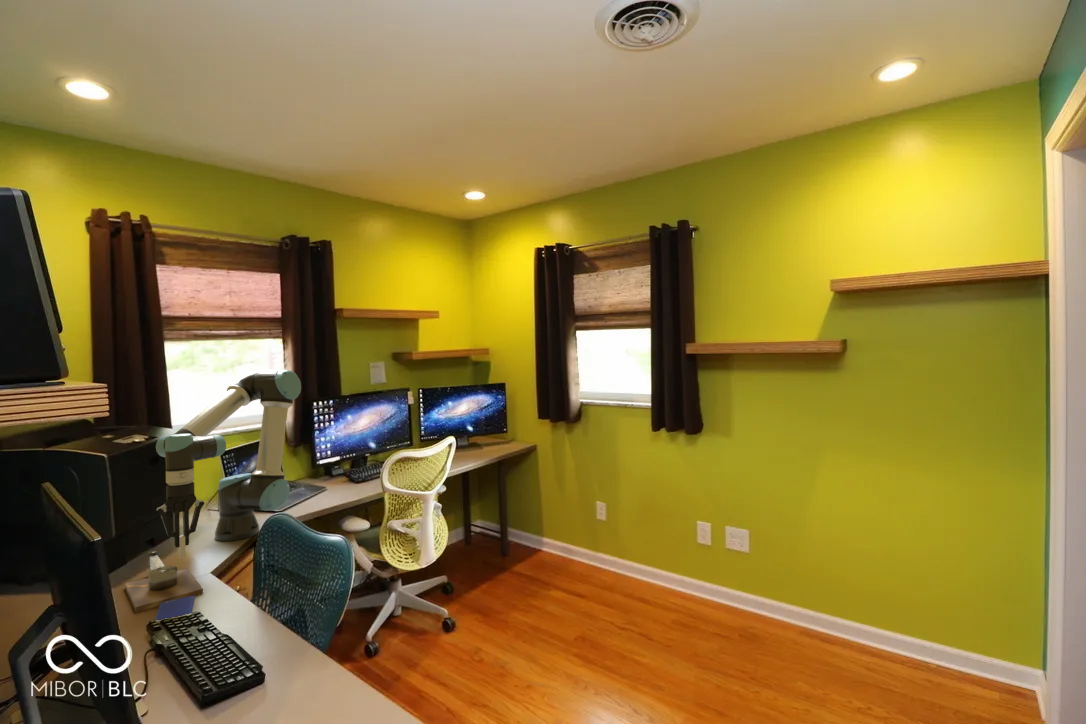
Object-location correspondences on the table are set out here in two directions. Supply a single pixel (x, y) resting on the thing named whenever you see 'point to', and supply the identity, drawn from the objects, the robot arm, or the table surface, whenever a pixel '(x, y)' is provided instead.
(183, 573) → the base plate
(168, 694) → the table surface
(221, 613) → the table surface
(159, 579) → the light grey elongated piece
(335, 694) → the table surface
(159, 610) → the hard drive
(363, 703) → the table surface
